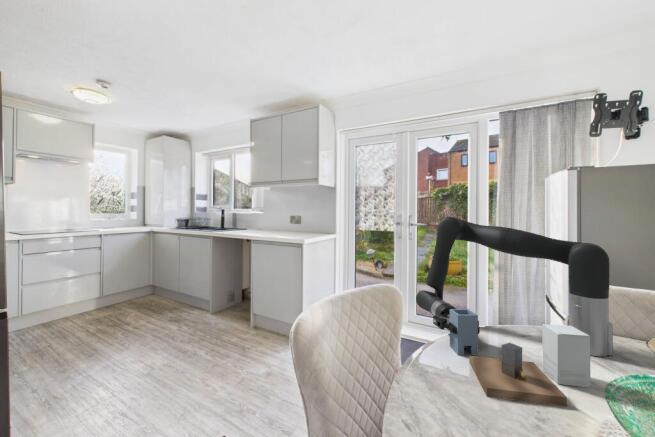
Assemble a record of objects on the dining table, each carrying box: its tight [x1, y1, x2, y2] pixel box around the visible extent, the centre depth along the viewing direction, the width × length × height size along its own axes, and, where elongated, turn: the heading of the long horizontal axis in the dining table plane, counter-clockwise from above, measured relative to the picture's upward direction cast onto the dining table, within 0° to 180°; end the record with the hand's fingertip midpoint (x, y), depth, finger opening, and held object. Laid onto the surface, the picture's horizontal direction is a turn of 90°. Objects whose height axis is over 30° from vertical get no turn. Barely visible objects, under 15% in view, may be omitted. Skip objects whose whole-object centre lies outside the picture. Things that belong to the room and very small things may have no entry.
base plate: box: [469, 355, 568, 407], centre depth 73 cm, size 16×16×2 cm
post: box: [501, 342, 526, 381], centre depth 73 cm, size 5×5×7 cm
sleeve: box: [449, 308, 479, 356], centre depth 91 cm, size 6×6×12 cm
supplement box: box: [541, 323, 591, 388], centre depth 75 cm, size 7×7×13 cm
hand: (467, 331), depth 88 cm, fingers closed on sleeve, 6 cm apart
